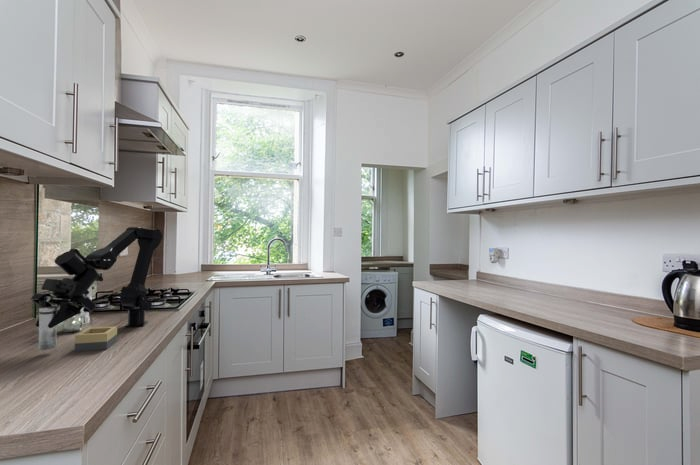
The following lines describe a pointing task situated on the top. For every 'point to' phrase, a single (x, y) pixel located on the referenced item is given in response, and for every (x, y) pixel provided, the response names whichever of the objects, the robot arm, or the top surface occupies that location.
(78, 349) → the collar block
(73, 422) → the top surface
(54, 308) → the metal tumbler
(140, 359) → the top surface
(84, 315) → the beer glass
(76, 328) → the valve
